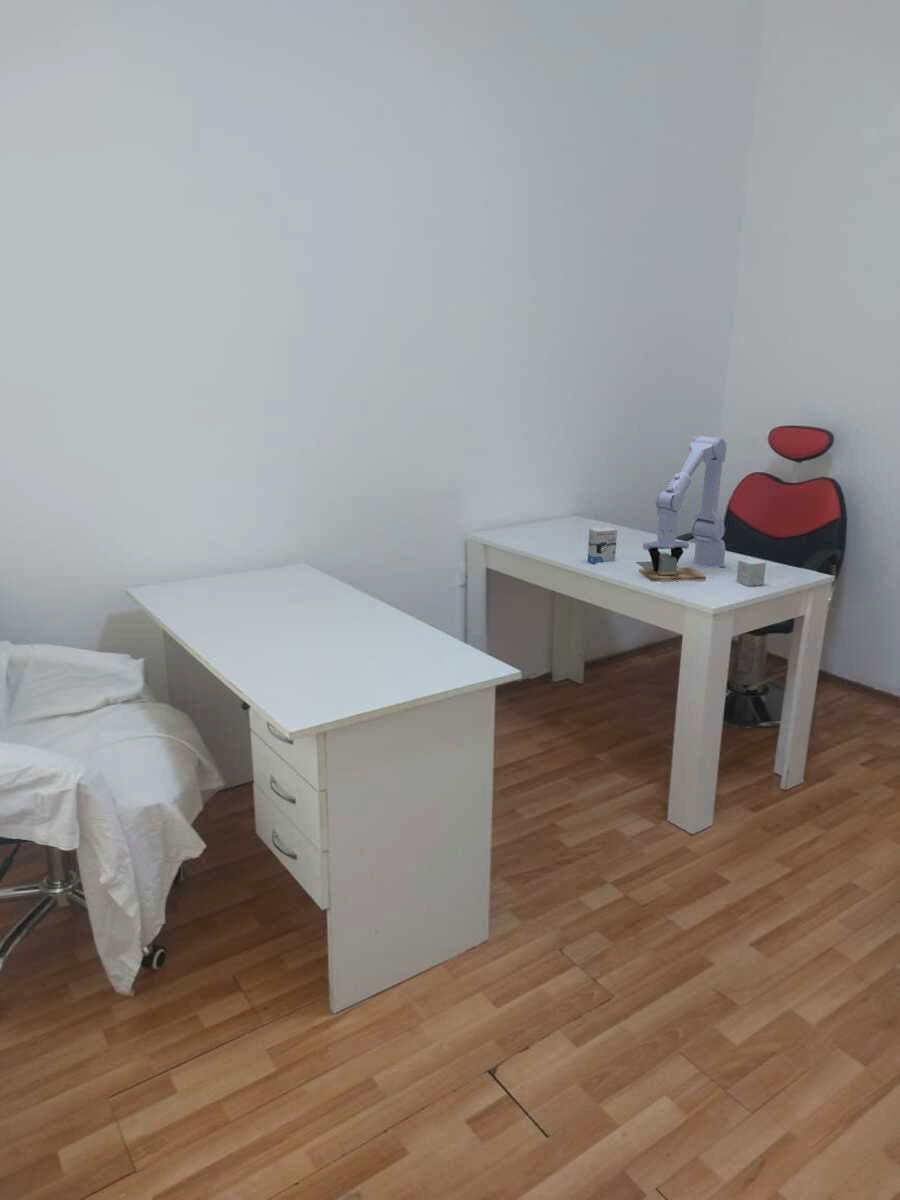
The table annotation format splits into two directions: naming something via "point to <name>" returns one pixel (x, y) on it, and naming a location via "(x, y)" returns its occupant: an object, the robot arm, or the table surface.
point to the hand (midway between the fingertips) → (664, 570)
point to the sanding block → (666, 564)
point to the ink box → (602, 544)
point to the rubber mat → (646, 564)
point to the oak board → (673, 575)
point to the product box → (751, 572)
